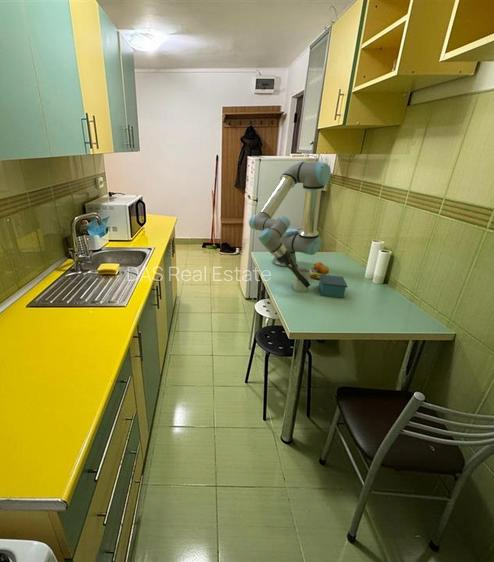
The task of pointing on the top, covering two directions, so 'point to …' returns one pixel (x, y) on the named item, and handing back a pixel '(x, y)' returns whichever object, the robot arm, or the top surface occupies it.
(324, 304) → the top surface
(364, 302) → the top surface
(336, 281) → the container
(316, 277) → the cheeseburger
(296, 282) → the cup
